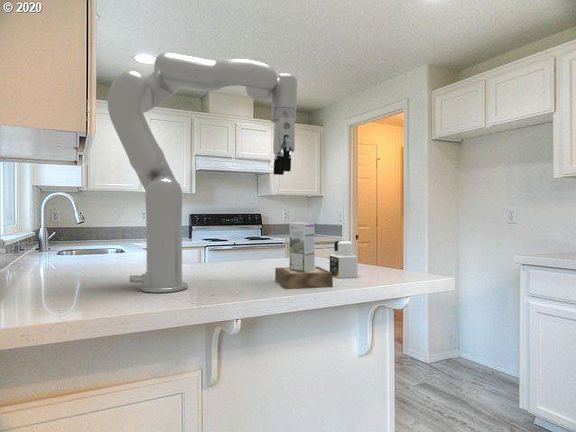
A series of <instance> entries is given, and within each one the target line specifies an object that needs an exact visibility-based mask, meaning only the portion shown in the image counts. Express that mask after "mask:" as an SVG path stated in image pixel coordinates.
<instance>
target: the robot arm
mask: <svg viewBox="0 0 576 432" xmlns="http://www.w3.org/2000/svg"><path fill="white" fill-rule="evenodd" d="M153 67H154V71H153V72H151V73H150V74H148V75H147V76H146V77H145V76H144V75H143V74H142V73H140V72H139V71H135V70H126V71H123V72H121V73H119V74H118V75H117V77H116V78H115V79H114V80H113V81H112V83H111V85H110V87H109V90H108V93H107V111H108V115H109V118H110V121H111V123H112V126H113V128H114V131H115V132H116V134H117V136H118V138H119V141H120V143H121V145H122V147H123V150H124V151H125V153H126V155H127V158H128V161H129V163H130V166H131V167H132V168H133V170H134V171H135V174H136V175H137V178H138V179H139V181H140V183H141V185H142V187H143V189H144V190H145V195H144V196H145V218H146V219H145V226H146V227H145V229H146V231H145V234H146V271H145V273H143V274H141V275H136V274H135V275H134V274H133V275H129V283H134V284H136V283H137V284H139V283H141V285H140V290H141V292H145V293H155V294H157V293H160V294H161V293H172V292H173V293H174V292H179V291H183V290H186V289H187V288H188V286H189V285H188V284H189V283H187V281H183V220H182V219H183V190H182V186H181V184H180V183H179V182H178V181H177V180H176V177H175V175H174V173H173V170H172V169H171V167H170V165H169V163H168V161H167V159H166V157H165V154H164V151H163V149H162V148H161V147H160V145H159V143H158V142H157V140H156V138H155V136H154V134H153V132H152V130H151V128H150V126H149V124H148V121H147V120H146V118H145V115H144V113H147V112H149V111H151V110H153V109H155V108H156V107H158V106H159V105H160V104H162V103H163V102H165V101H166V100H168V99H169V98H171V97H173V96H174V95H175V94H176V93H178V91H180V90H181V89H182V88H183V87H185V88H190V89H196V90H202V91H207V92H213V91H214V92H215V91H218V90H220V89H222V88H225V87H232V86H233V87H234V86H235V87H236V86H238V87H239V86H240V87H245V92H246V94H247V95H248V97H250V98H251V99H252V100H254V101H255V100H256V101H269V100H270V101H271V112H270V113H271V117H270V118H271V121H270V122H272V123H274V126H273V146H272V148H273V154H274V159H273V160H274V161H273V175H275V176H276V175H279V176H280V175H281V176H282V175H284V174H285V172H291V170H292V158H291V157H292V153H294V151H295V145H296V144H295V140H296V139H295V138H296V135H295V124H296V123H297V97H298V79H297V78H296V76H295V75H294V74H291V73H283V72H282V73H278V74H277V72H276V70H275V69H274V68H273V67H272V66H271V65H269V64H267V63H264V62H261V61H256V60H252V59H247V58H229V59H226V58H225V59H224V58H223V59H216V60H215V59H214V60H213V59H207V58H202V57H198V56H191V55H187V54H182V53H175V52H168V51H165V52H162V53H159V54H158V56H157V57H156V59H155V61H154V66H153Z"/></svg>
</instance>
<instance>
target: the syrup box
mask: <svg viewBox="0 0 576 432" xmlns="http://www.w3.org/2000/svg"><path fill="white" fill-rule="evenodd" d="M288 227H289V228H288V229H289V230H288V231H289V232H288V233H289V267H290V270H294V271H302V272H307V271H312V270H315V267H316V265H315V263H316V262H315V260H316V259H315V258H316V256H315V241H316V239H315V236H316V234H315V227H316V226H315V222H310V221H309V222H308V221H294V222H289V226H288Z"/></svg>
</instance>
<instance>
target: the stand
mask: <svg viewBox="0 0 576 432" xmlns="http://www.w3.org/2000/svg"><path fill="white" fill-rule="evenodd" d="M274 271H275V272H274V273H275V274H274V275H275V278H274V279H275V282H276V283H278V285H280V286H281V287H282V288H284V289H285V290H290V289H291V290H292V289H293V290H294V289H312V288H314V289H315V288H333V281H334V280H333V279H334V278H333V277H334V276H333V273H332V272H330V270H327V269H324V268H322V267H320V266H315V270H312V271H307V272H302V271H294V270H290V266H288V267H275V270H274Z"/></svg>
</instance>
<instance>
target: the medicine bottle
mask: <svg viewBox="0 0 576 432" xmlns="http://www.w3.org/2000/svg"><path fill="white" fill-rule="evenodd" d="M333 247H334V248H333V250H334V251H333V252H334V253H332V254H330V255H329V272H332V273H333V277H334V278H336V279H351V278H352V279H353V278H358V256H357V255H354V254H353V242H352V241H351V240H336V241H334V245H333Z"/></svg>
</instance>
